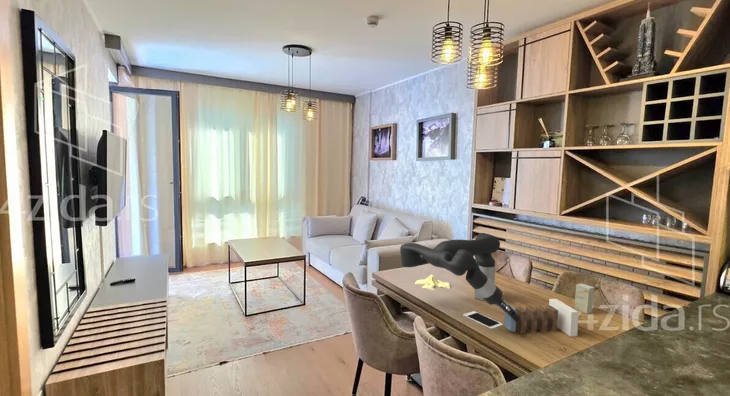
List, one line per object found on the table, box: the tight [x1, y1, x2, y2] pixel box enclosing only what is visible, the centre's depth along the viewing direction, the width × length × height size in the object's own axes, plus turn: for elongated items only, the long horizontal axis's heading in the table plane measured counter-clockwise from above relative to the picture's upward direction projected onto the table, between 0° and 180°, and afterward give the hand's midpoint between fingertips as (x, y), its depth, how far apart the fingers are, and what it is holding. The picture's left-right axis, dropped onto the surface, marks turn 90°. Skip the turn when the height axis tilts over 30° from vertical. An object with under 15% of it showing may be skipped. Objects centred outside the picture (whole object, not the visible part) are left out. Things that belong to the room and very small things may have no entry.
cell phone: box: [462, 310, 504, 330], centre depth 154 cm, size 8×16×1 cm, turn 32°
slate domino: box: [504, 304, 517, 333], centre depth 143 cm, size 2×5×9 cm, turn 6°
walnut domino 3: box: [535, 305, 548, 333], centre depth 144 cm, size 2×5×9 cm, turn 6°
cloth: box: [414, 274, 451, 291], centre depth 201 cm, size 22×19×6 cm
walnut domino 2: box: [525, 305, 537, 334], centre depth 144 cm, size 2×5×9 cm, turn 6°
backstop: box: [548, 298, 580, 337], centre depth 145 cm, size 3×14×10 cm, turn 6°
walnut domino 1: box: [515, 306, 527, 334], centre depth 143 cm, size 2×5×9 cm, turn 6°
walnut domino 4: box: [545, 305, 558, 333], centre depth 145 cm, size 2×5×9 cm, turn 6°
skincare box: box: [573, 283, 595, 315], centre depth 163 cm, size 6×4×12 cm
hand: (514, 317), depth 143 cm, fingers closed on slate domino, 4 cm apart
